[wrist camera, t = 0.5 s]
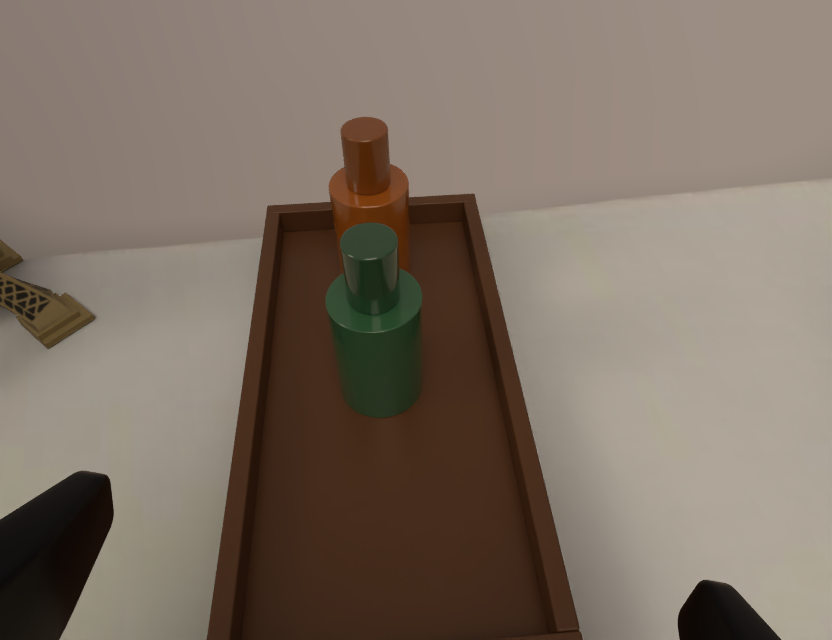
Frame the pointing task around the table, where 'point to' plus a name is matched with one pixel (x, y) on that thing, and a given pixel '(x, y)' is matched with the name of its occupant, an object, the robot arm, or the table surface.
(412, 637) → the tray
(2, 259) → the eiffel tower
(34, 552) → the robot arm
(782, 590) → the table surface
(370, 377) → the green bottle
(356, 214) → the amber bottle
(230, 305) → the table surface
